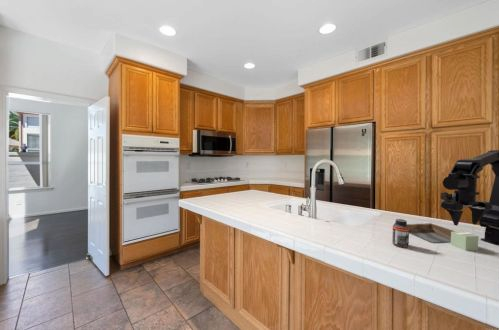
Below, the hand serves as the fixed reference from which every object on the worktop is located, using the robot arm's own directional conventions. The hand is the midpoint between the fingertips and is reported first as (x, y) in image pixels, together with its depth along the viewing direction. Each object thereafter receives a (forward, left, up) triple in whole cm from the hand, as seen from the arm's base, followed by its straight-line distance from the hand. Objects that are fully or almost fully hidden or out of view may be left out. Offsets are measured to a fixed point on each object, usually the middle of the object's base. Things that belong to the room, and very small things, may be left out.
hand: (465, 224), depth 95 cm
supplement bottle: (+26, -5, -10) cm, 28 cm away
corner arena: (+2, -13, -10) cm, 16 cm away
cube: (0, 0, -10) cm, 10 cm away
